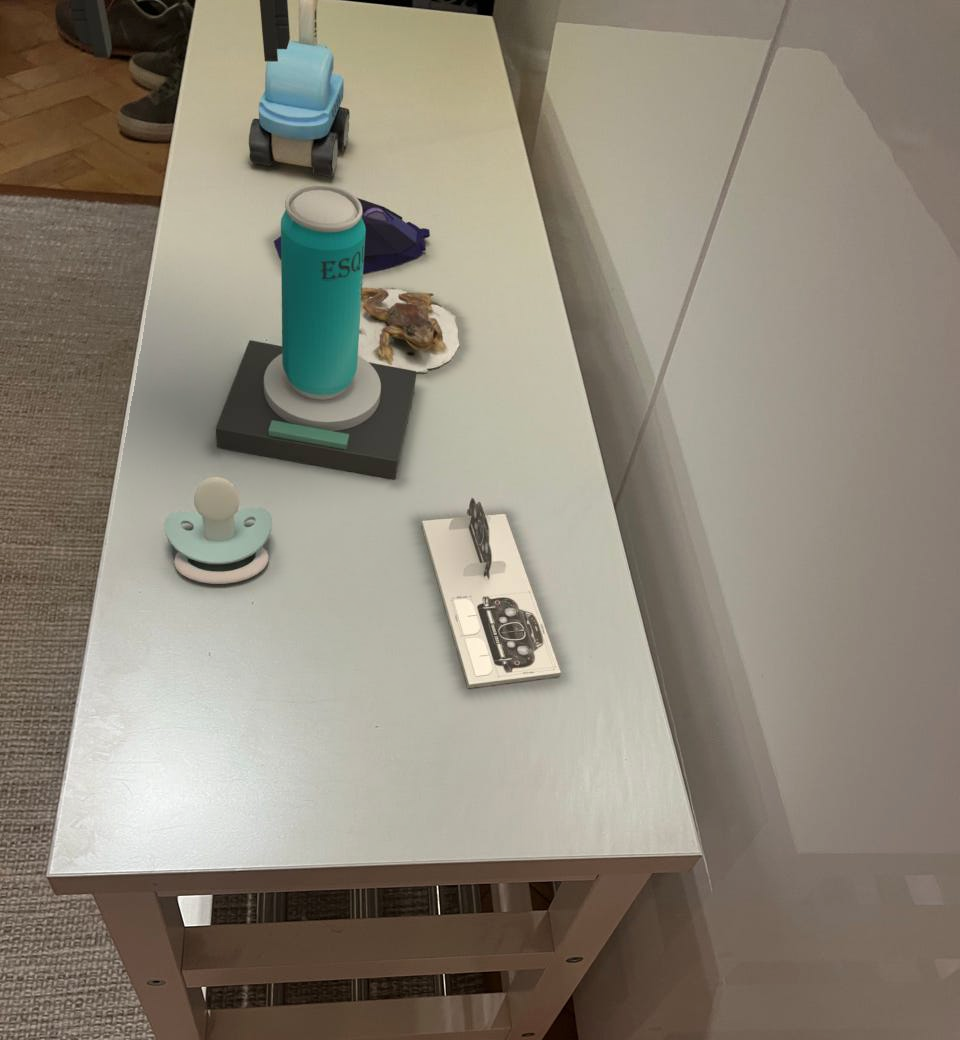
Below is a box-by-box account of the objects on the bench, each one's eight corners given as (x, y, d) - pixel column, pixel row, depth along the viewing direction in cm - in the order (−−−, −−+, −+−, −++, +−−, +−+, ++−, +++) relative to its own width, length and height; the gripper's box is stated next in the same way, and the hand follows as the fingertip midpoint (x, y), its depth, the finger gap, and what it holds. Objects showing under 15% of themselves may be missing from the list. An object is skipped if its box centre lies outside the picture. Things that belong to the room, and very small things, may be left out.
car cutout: (421, 524, 75) (427, 482, 72) (504, 517, 77) (514, 476, 73) (467, 688, 67) (477, 650, 64) (559, 676, 69) (574, 638, 65)
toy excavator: (360, 112, 110) (370, -66, 96) (331, 190, 100) (337, 4, 86) (283, 96, 110) (282, -85, 96) (246, 173, 100) (239, -17, 86)
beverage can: (370, 390, 79) (384, 216, 67) (309, 415, 76) (312, 238, 64) (328, 349, 81) (334, 173, 69) (268, 372, 78) (263, 193, 66)
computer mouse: (264, 223, 95) (263, 184, 92) (410, 212, 100) (414, 174, 97) (290, 281, 90) (290, 242, 87) (442, 267, 95) (447, 229, 92)
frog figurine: (486, 359, 88) (493, 323, 85) (363, 387, 83) (365, 350, 80) (429, 284, 93) (434, 247, 90) (310, 306, 89) (311, 268, 86)
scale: (216, 447, 77) (214, 418, 74) (250, 359, 83) (248, 329, 81) (395, 479, 78) (398, 451, 75) (414, 389, 84) (417, 361, 82)
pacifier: (277, 585, 70) (269, 520, 73) (276, 527, 65) (268, 460, 68) (169, 592, 68) (166, 525, 71) (159, 534, 63) (156, 465, 66)
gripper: (-80, -404, 37) (35, 78, 48) (310, -371, 39) (329, 82, 51) (-40, -407, 42) (55, 30, 53) (303, -377, 44) (322, 36, 56)
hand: (188, 55), depth 52 cm, fingers open, 8 cm apart
